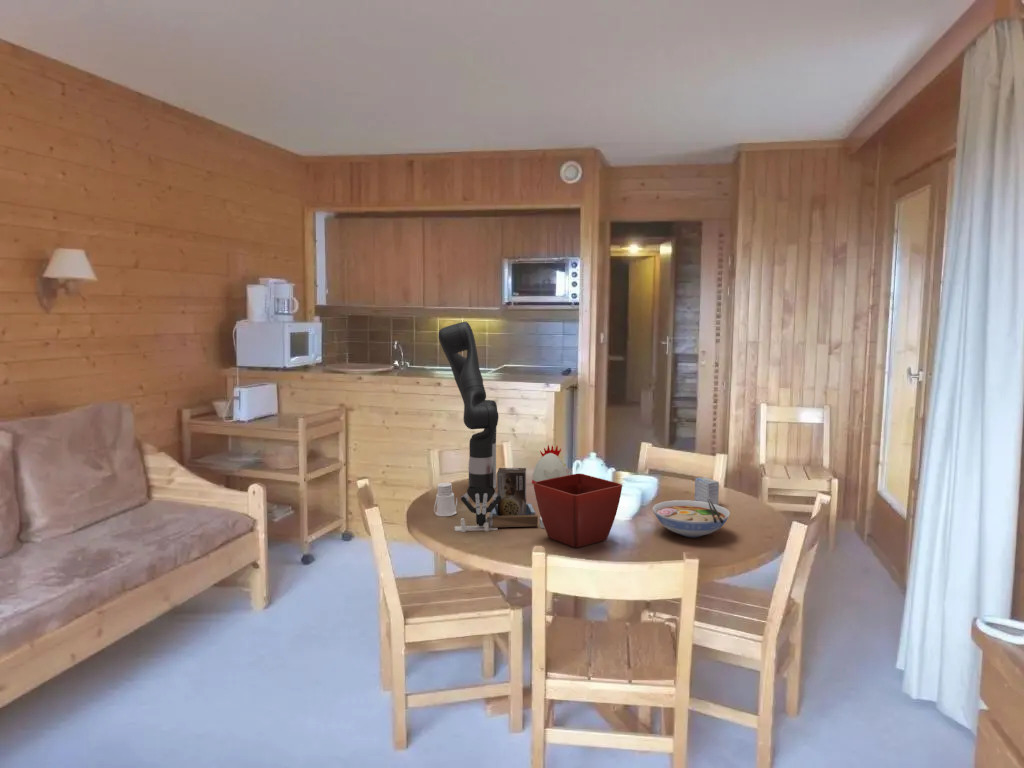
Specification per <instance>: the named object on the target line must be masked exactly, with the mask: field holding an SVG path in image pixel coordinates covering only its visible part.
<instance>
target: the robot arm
mask: <svg viewBox="0 0 1024 768" xmlns="http://www.w3.org/2000/svg"><path fill="white" fill-rule="evenodd" d="M438 339H439V342H440V343H439V344H440V346H441V348H442V350H443V352H444V355H445V357H446V358H447V361H448V363H449V365H450V369H451V371H452V375H453V377H454V381H455V383H456V386H457V388H458V391H459V393H460V396H461V399H462V402H463V424H464V425H465V427H466V428H467V429H469V430H482V431H480V432H476V433H474V434H472V435H471V438H470V439H469V459H468V467H467V468H468V487H467V489H466V492H465V494H462V495H461V496H460V500H461V502H462V503H463V504H464V505H465V507H466V508H467V509H468V510H469V511H470V512H471V513H473V514H475V519H476V520H475V522H476V525H477V526H483V524H484V523H486V518H487V517H486V514H488V513H490V512H491V511H492V510H493V509H494V507H495V506H496V505H497V504H498V502H499V501H500V500H501V496H500V495H499V494H497V491H495V490H496V488H497V426H498V422H499V412H498V405H497V404H498V403H496V401H495V400H491V399H486V398H487V393H486V389H485V385H484V378H483V376H482V372H481V370H480V363H479V357H478V351H477V350H478V349H477V344H476V339H475V335H474V332H473V329H472V327H471V325H470V324H469V322H468V321H461V322H457V323H455V324H450V325H448V326H445V327H443V328H440V329H439V331H438ZM465 351H466V357H465V356H463V355H461V354H460V353H461V352H465ZM491 499H492V501H491V502H490V503H489V504H488V502H489V501H490V500H491ZM470 500H471V501H472V502H473V503H475V506H473V504H472V503H471V502H470Z"/></svg>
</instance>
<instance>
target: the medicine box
mask: <svg viewBox="0 0 1024 768" xmlns="http://www.w3.org/2000/svg"><path fill="white" fill-rule="evenodd" d="M694 480H695V481H694V501H701V502H707V503H708V501H709V503H711V502H712V504H716V505H719V499H720V498H719V489H720V488H719V487H720V483H719V481H717V480H715V479H712V478H709V477H707V476H702V477H700V476H699V477H696V478H694ZM707 499H708V500H707ZM709 499H710V500H709ZM710 501H711V502H710Z"/></svg>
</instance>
